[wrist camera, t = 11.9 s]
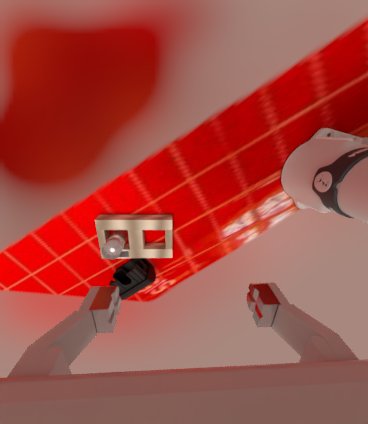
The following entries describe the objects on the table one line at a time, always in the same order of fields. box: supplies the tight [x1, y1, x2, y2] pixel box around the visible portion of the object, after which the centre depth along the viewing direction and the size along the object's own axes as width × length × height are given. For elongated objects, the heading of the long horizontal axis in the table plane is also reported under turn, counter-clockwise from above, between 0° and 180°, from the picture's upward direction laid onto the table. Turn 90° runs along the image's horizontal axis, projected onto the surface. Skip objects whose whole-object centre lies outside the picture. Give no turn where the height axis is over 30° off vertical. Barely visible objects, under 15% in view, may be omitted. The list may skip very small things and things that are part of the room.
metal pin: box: [101, 230, 128, 259], centre depth 43 cm, size 4×4×8 cm
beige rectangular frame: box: [95, 215, 172, 259], centre depth 45 cm, size 18×11×3 cm, turn 88°
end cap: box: [109, 258, 156, 300], centre depth 48 cm, size 10×7×7 cm
